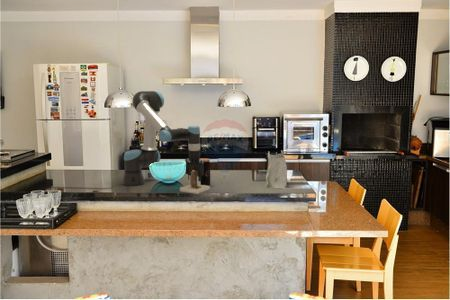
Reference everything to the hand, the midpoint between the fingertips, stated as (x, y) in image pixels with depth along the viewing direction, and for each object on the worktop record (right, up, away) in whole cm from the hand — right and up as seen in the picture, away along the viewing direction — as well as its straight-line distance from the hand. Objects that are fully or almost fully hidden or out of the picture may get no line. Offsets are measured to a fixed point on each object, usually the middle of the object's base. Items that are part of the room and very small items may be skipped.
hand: (194, 185), depth 286 cm
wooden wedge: (0, -3, 0) cm, 3 cm away
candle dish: (0, -3, 0) cm, 3 cm away
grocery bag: (+55, 0, +23) cm, 60 cm away
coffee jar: (+4, -1, +17) cm, 17 cm away
